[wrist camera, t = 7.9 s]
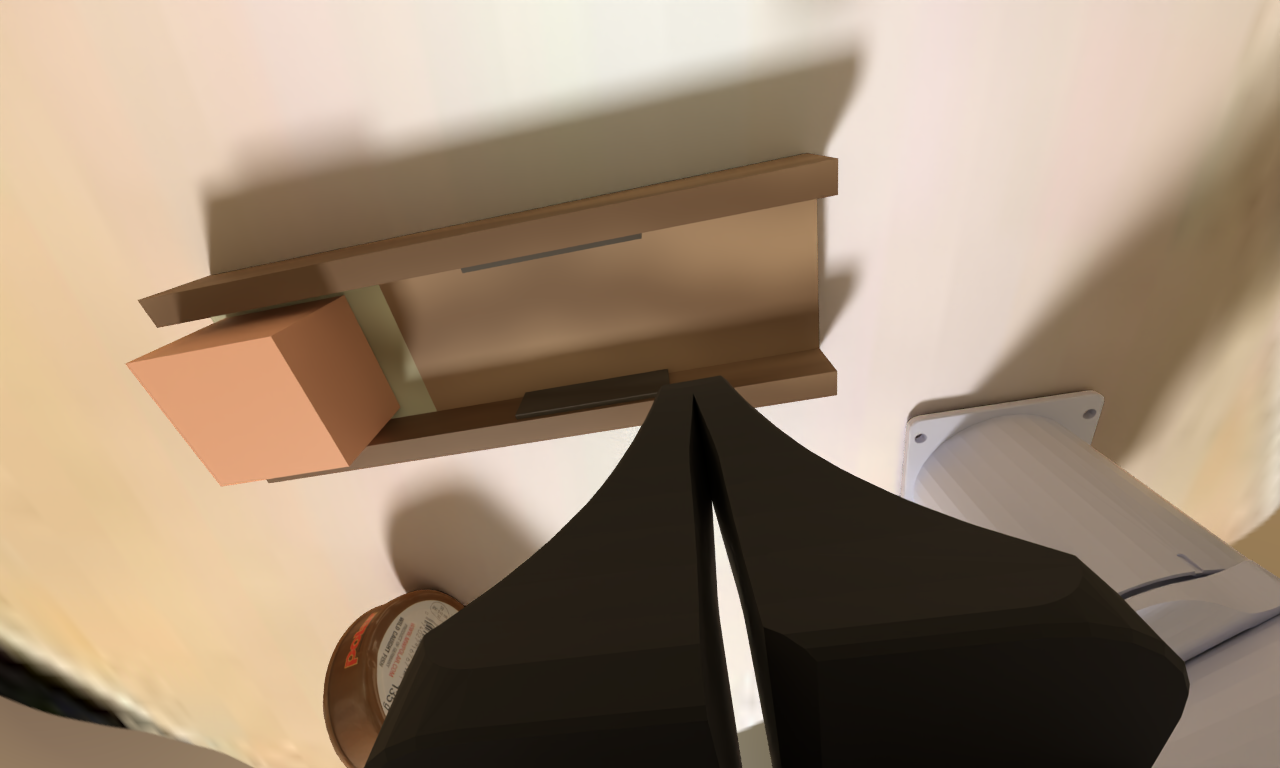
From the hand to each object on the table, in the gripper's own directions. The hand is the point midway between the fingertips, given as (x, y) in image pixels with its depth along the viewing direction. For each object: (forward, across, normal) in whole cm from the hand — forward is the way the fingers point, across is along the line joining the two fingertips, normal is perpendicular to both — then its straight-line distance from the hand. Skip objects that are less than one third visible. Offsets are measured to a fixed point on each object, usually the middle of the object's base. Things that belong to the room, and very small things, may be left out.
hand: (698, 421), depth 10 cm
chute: (+10, +6, 0) cm, 12 cm away
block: (+9, +15, 0) cm, 17 cm away
